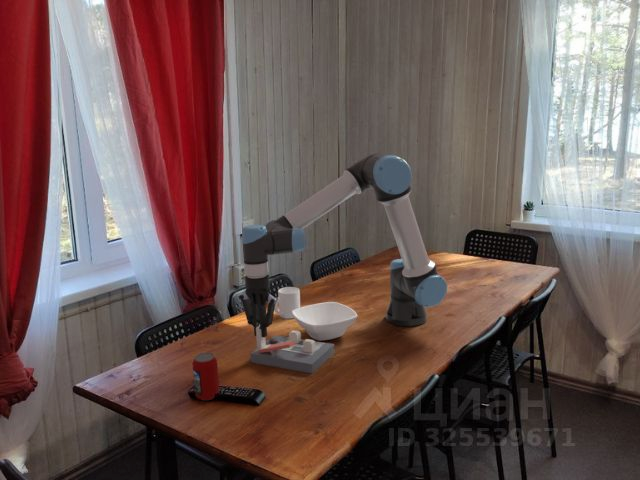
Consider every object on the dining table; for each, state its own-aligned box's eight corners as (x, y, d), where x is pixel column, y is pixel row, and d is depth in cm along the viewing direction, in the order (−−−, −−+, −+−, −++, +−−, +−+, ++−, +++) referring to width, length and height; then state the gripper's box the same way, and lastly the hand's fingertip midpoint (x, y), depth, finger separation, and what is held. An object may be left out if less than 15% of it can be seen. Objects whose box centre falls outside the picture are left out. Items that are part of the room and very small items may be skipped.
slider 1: (301, 340, 188) (300, 331, 187) (297, 343, 186) (297, 333, 185) (293, 339, 189) (292, 329, 188) (289, 342, 187) (289, 332, 186)
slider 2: (315, 349, 180) (314, 339, 179) (311, 352, 178) (311, 342, 177) (306, 348, 181) (306, 338, 180) (303, 351, 179) (302, 341, 178)
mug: (282, 323, 212) (281, 297, 210) (267, 318, 218) (266, 293, 216) (305, 314, 221) (303, 289, 219) (290, 310, 226) (289, 285, 224)
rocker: (295, 343, 177) (294, 339, 177) (289, 347, 174) (288, 343, 174) (264, 348, 183) (263, 345, 183) (258, 353, 180) (257, 349, 180)
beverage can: (197, 391, 163) (193, 352, 160) (220, 389, 164) (217, 350, 161) (194, 402, 156) (190, 362, 154) (218, 401, 157) (215, 360, 154)
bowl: (312, 352, 186) (310, 328, 184) (286, 332, 204) (284, 310, 202) (365, 339, 195) (365, 315, 193) (336, 321, 213) (335, 299, 211)
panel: (334, 352, 185) (333, 339, 184) (312, 373, 171) (312, 359, 170) (275, 343, 195) (275, 331, 194) (250, 362, 181) (249, 349, 180)
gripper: (281, 273, 176) (285, 344, 182) (245, 269, 182) (250, 338, 187) (268, 280, 170) (273, 353, 175) (232, 276, 175) (237, 347, 181)
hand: (261, 345), depth 181 cm, fingers closed
